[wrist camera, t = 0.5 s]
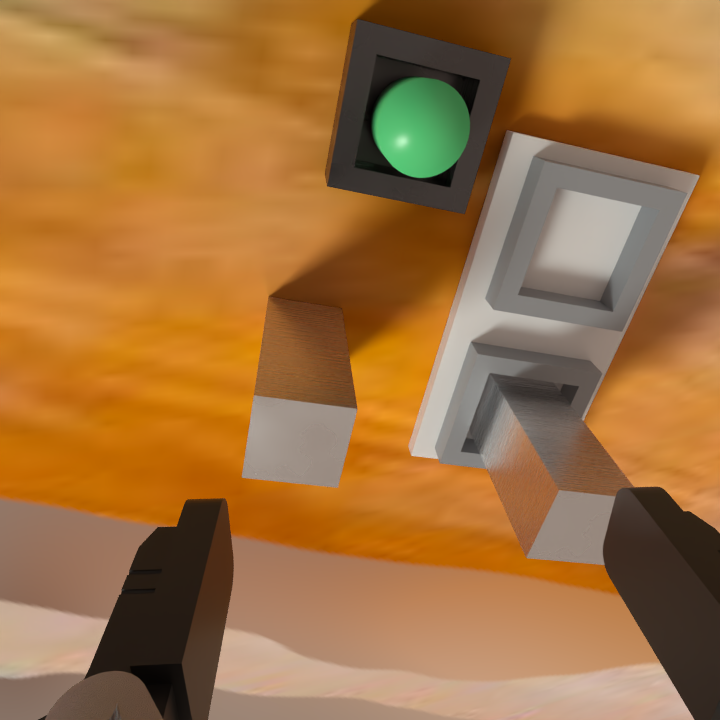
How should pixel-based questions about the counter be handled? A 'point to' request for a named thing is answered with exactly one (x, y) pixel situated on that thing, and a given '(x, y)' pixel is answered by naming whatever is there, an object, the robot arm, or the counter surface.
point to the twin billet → (546, 469)
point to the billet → (301, 396)
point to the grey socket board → (547, 280)
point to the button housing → (377, 71)
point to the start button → (420, 125)
